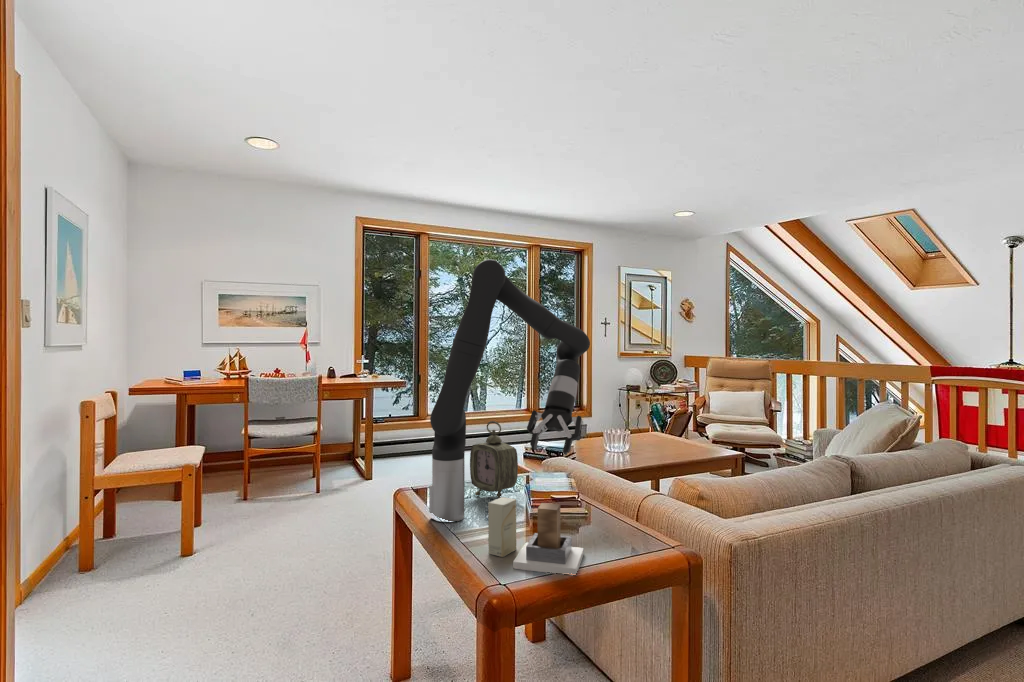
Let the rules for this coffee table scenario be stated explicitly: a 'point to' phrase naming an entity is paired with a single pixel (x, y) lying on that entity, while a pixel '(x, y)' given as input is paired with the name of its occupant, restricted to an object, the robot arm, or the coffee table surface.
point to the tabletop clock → (493, 464)
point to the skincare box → (502, 526)
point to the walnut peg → (549, 525)
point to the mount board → (549, 557)
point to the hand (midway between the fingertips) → (549, 451)
